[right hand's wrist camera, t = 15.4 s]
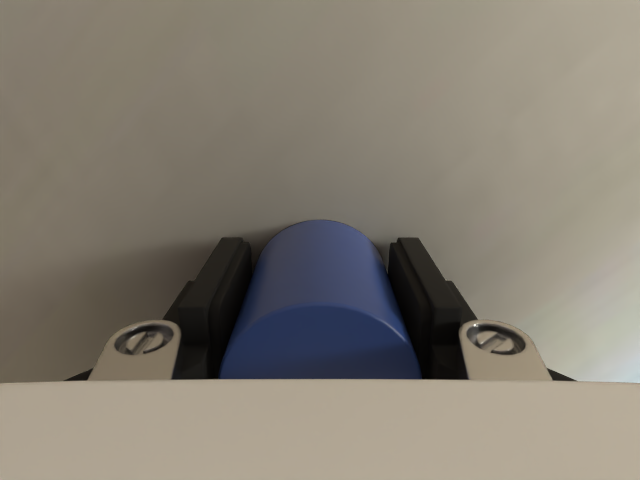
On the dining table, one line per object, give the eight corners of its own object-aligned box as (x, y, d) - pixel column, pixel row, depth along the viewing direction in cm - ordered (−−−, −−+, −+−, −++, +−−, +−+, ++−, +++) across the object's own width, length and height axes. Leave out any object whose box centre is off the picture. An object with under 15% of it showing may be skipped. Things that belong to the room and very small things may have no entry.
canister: (410, 255, 12) (463, 356, 7) (346, 355, 13) (360, 493, 9) (289, 195, 11) (269, 268, 7) (234, 306, 12) (186, 428, 8)
